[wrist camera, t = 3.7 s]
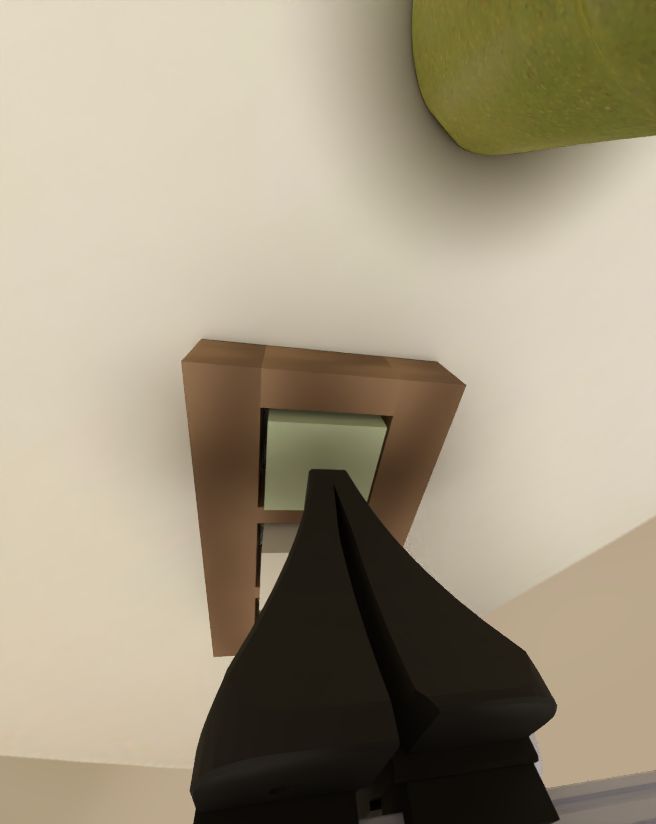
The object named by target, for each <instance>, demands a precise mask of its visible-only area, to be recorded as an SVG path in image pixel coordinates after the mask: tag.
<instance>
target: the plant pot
mask: <svg viewBox="0 0 656 824" xmlns="http://www.w3.org/2000/svg"><path fill="white" fill-rule="evenodd" d="M412 45H413V56H414V62H415V69H416V75H417V79H418V84H419V87H420V90H421V94H422V96H423V99H424V101H425V103H426V105H427V107H428V109H429V110H430V111H431V113H432V114H433V115H434V116H435V117H436V119H437V120H438V121H439V122H440V124H441V125H442V126H443V127H444V128H445V130H446V131H447V132H448V133H449V135H450V136H451V137H452V138H453V139H454V140H455V141H456V143H457V144H458V145H459V146H461V147H462V148H464V149H466V150H468V151H470V152H473V153H477V154H483V155H503V154H512V153H521V152H529V151H536V150H542V149H549V148H555V147H562V146H570V145H577V144H585V143H594V142H602V141H610V140H618V139H628V138H637V137H646V136H654V135H656V0H413V6H412Z"/></svg>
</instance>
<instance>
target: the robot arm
mask: <svg viewBox="0 0 656 824" xmlns="http://www.w3.org/2000/svg"><path fill="white" fill-rule="evenodd" d="M556 709H557V704H556V702H555V700H554V698H553V697H552V695H551V693H550V691H549V690H548V688H547V686H546V685H545V683H544V681H543V679H542V677H541V675H540V674H539V672H538V670H537V669H536V667H535V665H534V664H533V663H532V661H531V659H530V658H529V656H528V655H527V653H526V651H524V650H523V649H522V648H520V647H519V646H517V645H516V644H515V643H513V642H512V641H510V640H509V639H508V638H507V637H505V636H503V635H502V634H501V633H500V632H498V631H497V630H496V629H494V628H493V627H491V626H490V625H489V624H487V623H486V622H485V621H483V620H482V619H481V618H480V617H478V616H477V615H476V614H475V613H473V612H472V611H471V610H470V609H468V608H467V607H466V606H465V605H463V604H462V603H461V602H460V601H459V600H457V599H456V598H455V597H454V596H453V595H452V594H450V593H449V592H448V591H447V590H446V589H445V588H444V587H443V586H442V585H440V584H439V583H438V582H437V581H436V580H435V579H434V578H433V577H432V576H431V575H429V574H428V573H427V572H426V571H425V570H424V569H423V568H422V567H421V566H420V565H419V564H418V563H417V562H416V561H415V560H414V559H413V558H412V557H411V556H410V555H409V553H408V552H407V551H406V550H405V549H404V548H403V547H402V546H401V545H400V544H399V542H398V541H397V540H396V539H395V538H394V537H393V535H392V534H391V533H390V532H389V531H388V529H387V528H386V527H385V526H384V524H383V523H382V522H381V521H380V519H379V518H378V517H377V515H376V514H375V513H374V511H373V510H372V509H371V507H370V506H369V505H368V503H367V502H366V500H365V499H364V497H363V496H362V494H361V493H360V491H359V490H358V488H357V487H356V485H355V484H354V482H353V481H352V479H351V477H350V476H349V474H348V473H347V471H346V470H336V469H311V470H310V471H309V473H308V481H307V488H306V496H305V504H304V512H303V516H302V519H301V522H300V525H299V528H298V531H297V534H296V537H295V539H294V542H293V545H292V547H291V550H290V552H289V554H288V557H287V559H286V561H285V564H284V566H283V568H282V570H281V572H280V575H279V577H278V579H277V581H276V583H275V585H274V587H273V589H272V591H271V593H270V595H269V597H268V599H267V601H266V603H265V605H264V607H263V608H262V610H261V612H260V614H259V616H258V618H257V620H256V621H255V623H254V625H253V627H252V629H251V630H250V632H249V634H248V636H247V637H246V639H245V641H244V642H243V644H242V646H241V647H240V649H239V651H238V652H237V654H236V656H235V657H234V659H233V661H232V662H231V664H230V666H229V667H228V669H227V671H226V673H225V676H224V679H223V681H222V683H221V686H220V688H219V690H218V692H217V695H216V697H215V699H214V702H213V704H212V706H211V709H210V711H209V714H208V716H207V719H206V721H205V724H204V727H203V729H202V732H201V735H200V739H199V743H198V746H197V750H196V756H195V762H194V768H193V774H192V781H191V786H190V793H191V796H192V799H193V802H194V804H195V807H196V811H195V817H194V823H193V824H656V770H654V771H648V772H642V773H636V774H630V775H624V776H618V777H612V778H606V779H600V780H594V781H588V782H581V783H576V784H570V785H563V786H558V787H551V788H545V786H544V784H543V782H542V780H541V777H542V760H541V755H540V751H539V747H538V743H537V740H536V737H535V734H534V732H535V731H537V730H538V729H539V728H541V727H542V726H543V725H545V724H546V723H547V722H548V721H549V720H550V719H551V718H553V717H554V715H555V713H556Z"/></svg>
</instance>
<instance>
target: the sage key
mask: <svg viewBox="0 0 656 824" xmlns="http://www.w3.org/2000/svg"><path fill="white" fill-rule="evenodd" d="M386 430H387V427H386V425H385V423H384V421H383V419H382V417H381V415H371V414H355V413H339V412H323V411H307V410H291V409H275V408H269V416H268V430H267V454H266V477H265V500H264V510H304V504H305V496H306V488H307V481H308V473H309V471H310V470H311V469H336V470H346V471H347V473H348V474H349V476H350V477H351V479H352V481H353V482H354V484H355V485H356V487H357V488H358V490H359V491H360V493H361V494H362V496H363V497H364V499H365V500H366V502H367V500H368V496H369V492H370V489H371V485H372V481H373V478H374V474H375V470H376V467H377V463H378V459H379V456H380V452H381V448H382V445H383V441H384V437H385V434H386Z"/></svg>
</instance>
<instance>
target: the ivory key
mask: <svg viewBox="0 0 656 824" xmlns="http://www.w3.org/2000/svg"><path fill="white" fill-rule="evenodd" d="M299 525H300V523H264V530H263V541H262V552H261V575H260V600H259V610H262V608H263V607H264V605H265V603H266V601H267V599H268V597H269V595H270V593H271V591H272V589H273V587H274V585H275V583H276V581H277V579H278V577H279V575H280V572H281V570H282V568H283V566H284V564H285V561H286V559H287V557H288V554H289V552H290V550H291V547H292V545H293V542H294V539H295V537H296V534H297V531H298V528H299Z"/></svg>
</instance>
